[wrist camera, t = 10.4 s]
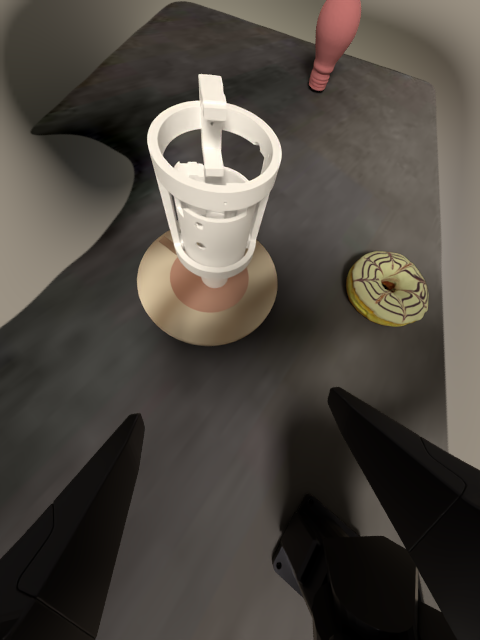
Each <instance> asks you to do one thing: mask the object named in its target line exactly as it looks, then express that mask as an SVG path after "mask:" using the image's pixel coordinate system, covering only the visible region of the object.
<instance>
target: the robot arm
mask: <svg viewBox="0 0 480 640" xmlns="http://www.w3.org/2000/svg"><path fill="white" fill-rule="evenodd" d="M328 405H329V407H330V409H331V411H332V414H333V416H334V418H335V420H336V423H337V425H338V427H339V429H340V431H341V434H342V435H343V437H344V439H345V441H346V443H347V445H348V446H349V448H350V450H351V452H352V453H353V455H354V457H355V459H356V461H357V462H358V464H359V466H360V468H361V469H362V471H363V473H364V475H365V476H366V478H367V480H368V482H369V484H370V485H371V487H372V489H373V491H374V492H375V494H376V496H377V498H378V500H379V501H380V503H381V505H382V507H383V508H384V510H385V512H386V514H387V516H388V517H389V519H390V521H391V523H392V524H393V526H394V528H395V530H396V531H397V533H398V535H399V537H400V539H401V540H402V542H403V544H404V546H405V547H406V549H405V548H403V547H401V546H400V545H398V544H396V543H395V542H393V541H391V540H389V539H388V538H386V537H384V536H362V537H360V536H359V535H357V534H356V533H355V532H354V531H353V530H352V529H350V528H349V527H348V526H347V525H346V524H345V523H344V522H342V521H341V520H340V519H339V518H338V517H337V516H335V515H334V514H333V513H332V512H331V511H330V510H329V509H327V508H326V507H325V506H324V505H323V504H322V503H320V502H319V501H318V500H317V499H316V498H315V497H314V496H312V495H311V494H307V495H306V496H305V497H304V499H303V501H302V503H301V505H300V507H299V509H298V511H297V512H296V513H294V515H293V517H292V519H291V521H290V523H289V525H288V527H287V529H286V530H285V532H284V534H283V536H282V538H281V544H280V546H279V548H278V549H277V551H276V553H275V555H274V557H273V560H272V564H273V568H274V570H275V572H276V573H277V574H278V575H280V576H281V577H282V578H283V579H284V580H285V581H286V582H287V583H288V584H289V585H290V586H291V587H292V588H293V589H294V590H295V591H297V592H298V593H299V594H300V595H301V596H302V597H303V598H304V600H305V602H306V605H307V607H308V609H309V611H310V614H311V616H312V619H313V637H314V640H480V470H478V469H476V468H474V467H473V466H471V465H469V464H467V463H465V462H464V461H462V460H460V459H458V458H456V457H454V456H453V455H451V454H449V453H447V452H446V451H444V450H442V449H441V448H439V447H437V446H436V445H434V444H432V443H431V442H429V441H427V440H426V439H424V438H422V437H420V436H419V435H417V434H416V433H414V432H412V431H411V430H409V429H408V428H406V427H404V426H403V425H401V424H399V423H398V422H396V421H394V420H393V419H391V418H390V417H388V416H386V415H385V414H383V413H381V412H380V411H378V410H376V409H375V408H373V407H372V406H370V405H368V404H367V403H365V402H363V401H362V400H360V399H358V398H357V397H355V396H353V395H352V394H350V393H349V392H347V391H345V390H344V389H342V388H340V387H333V388H331V389H330V392H329V396H328ZM144 431H145V426H144V422H143V419H142V416H141V414H140V413H136V414H131V415H129V416H128V417H127V418H126V419H125V421H124V422H123V423H122V424H121V425H120V426H119V427H118V429H117V430H116V431H115V432H114V433H113V434H112V435H111V437H110V438H109V439H108V440H107V441H106V442H105V443H104V444H103V446H102V447H101V448H100V449H99V450H98V451H97V452H96V454H95V455H94V456H93V457H92V458H91V459H90V460H89V462H88V463H87V464H86V465H85V466H84V467H83V468H82V470H81V471H80V472H79V473H78V474H77V475H76V476H75V477H74V479H73V480H72V481H71V482H70V483H69V484H68V485H67V487H66V488H65V489H64V490H63V491H62V492H61V493H60V495H59V496H58V497H57V498H56V499H55V500H54V502H53V504H51V505H50V506H49V507H48V508H47V509H46V510H45V512H44V513H43V514H42V515H41V516H40V517H39V518H38V519H37V520H36V522H35V523H34V524H33V525H32V526H31V527H30V528H29V529H28V530H27V532H26V533H25V534H24V535H23V536H22V537H21V538H20V539H19V540H18V541H17V542H16V543H15V544H14V545H13V546H12V547H11V549H10V550H9V551H8V552H7V553H6V554H5V555H4V556H3V557H2V558H1V559H0V640H95V638H96V637H97V633H98V629H99V625H100V621H101V617H102V613H103V609H104V605H105V601H106V597H107V593H108V589H109V585H110V582H111V578H112V574H113V570H114V566H115V562H116V558H117V554H118V550H119V546H120V542H121V538H122V534H123V530H124V526H125V522H126V518H127V514H128V510H129V506H130V503H131V499H132V495H133V491H134V487H135V483H136V479H137V475H138V470H139V465H140V459H141V452H142V445H143V438H144ZM309 499H312V501H311V503H308V501H309ZM277 562H280V565H279V566H277V565H276V564H277ZM419 573H420V574H421V576H422V578H423V580H424V581H425V583H426V585H427V587H428V589H429V590H430V592H431V594H432V596H433V597H434V599H435V601H436V603H437V605H438V606H439V608H440V610H441V612H440V611H438V610H436V609H434V608H432V607H430V606H428V605H427V604H425V602H424V597H423V591H422V586H421V581H420V575H419Z"/></svg>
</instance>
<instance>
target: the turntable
mask: <svg viewBox="0 0 480 640" xmlns="http://www.w3.org/2000/svg"><path fill="white" fill-rule="evenodd" d="M197 245H198V242H197ZM247 251H248V248H246V250H245V254H244V256H245V255H246V253H247ZM244 256H243V257H244ZM137 288H138V293H139V297H140V300H141V303H142V305H143V307H144V309H145V311H146V312H147V314H148V315H149V316H150V318H151V319H152V320H153V321H154V323H155V324H156V325H157V326H158V327H160V328H161V329H162V330H163V331H164V332H166V333H167V334H168V335H170V336H172V337H174V338H176V339H178V340H180V341H183V342H186V343H189V344H193V345H199V346H218V345H225V344H228V343H232V342H235V341H237V340H239V339H242V338H244V337H245V336H247V335H249V334H250V333H252V332H253V331H254V330H255V329H256V328H258V326H259V325H260V324H261V323H262V322H263V321H264V319H265V318H266V317H267V315H268V314H269V312H270V310H271V308H272V306H273V304H274V301H275V298H276V294H277V273H276V270H275V266H274V264H273V261H272V259H271V257H270V255H269V254H268V252H267V251H266V249H265V248H264V247H263V246H262V245H261V244H260V243H259V242H258V241H257V240H256V245H255V249H254V253H253V256H252V259H251V261H250V263H249V264H248V266H247V267H246V268H245V269H244V270H243V271H242V272H240V273H239V274H237V275H235V276H233V277H230V278H228V280H227V282H226V283H225V285H223V286H222V287H219V288H211V287H208V286H206V285H205V284H204V283H203V281H202V278H201V277H200V276H198V275H196V274H194V273H192V272H191V271H189V270H188V269H187V268H186V267H185V266H184V265H183V264H182V263H181V262H180V260H179V258H178V256H177V254H176V250H175V246H174V242H173V239H172V235H171V231H168V232H166V233H164V234H163V235H162V236H160V237H159V238H158V239H157V240H156V241H155V242H153V244H152V245H151V246H150V247H149V248H148V250H147V251H146V253H145V255H144V256H143V258H142V261H141V263H140V266H139V270H138V277H137Z"/></svg>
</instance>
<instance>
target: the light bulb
mask: <svg viewBox="0 0 480 640" xmlns="http://www.w3.org/2000/svg"><path fill="white" fill-rule="evenodd" d="M360 16H361V3H360V0H326V2H325V4H324V5H323V7H322V9H321V12H320V14H319V17H318V21H317V26H316V58H315V61H314V68H313V70H312V73H311V76H310V81H309V85H310V87H311V88H313V89H314V90H318V91H322V90H324V89H325V86H326V84H327V82H328V79H329V77H330V75H329V74H330V73H331V72H332V71H333V69H334V66H335V64H336V62H337V61H338V60H339V58H340V57H341V56H342V55H343V53H344V52H345V50H346V49H347V48H348V46H349V45H350V44H351V42H352V40H353V39H354V37H355V35H356V32H357V29H358V26H359V22H360Z"/></svg>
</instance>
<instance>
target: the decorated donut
mask: <svg viewBox="0 0 480 640" xmlns="http://www.w3.org/2000/svg"><path fill="white" fill-rule="evenodd" d="M382 284H384V285H385V286H386V287H387V289H388V290H386V289H384V287H383V286H382ZM346 288H347V294H348V297H349V300H350V302H351V303H352V305H353V306H354V307H355V308H356V310H357V311H358V312H359V313H360V314H362V315H363V316H364V317H366V318H367V319H368V320H370V321H372V322H375V323H377V324H380V325H386V326H404V325H406V324H409V323H413V322H415V321H418V320H421V319H422V318H423V316H424V313H425V312H427V310H428V288H427V285H426V282H425V280H424V278H423V277H422V275H421V273H420V272H419V270H418V269H417V268H416V267H415V266H414V264H413V263H411V262H410V261H409V260H407V258H405V257H404V256H402V255H400V254H397V253H392V252H382V251H375V252H371V253H368V254H365V255H364V256H362V257H361V258H360V259H359V260H358V261H357V262H356V263H355V264H354V265H353V266H352V267H351V269H350V271H349V273H348V276H347V281H346Z"/></svg>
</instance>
